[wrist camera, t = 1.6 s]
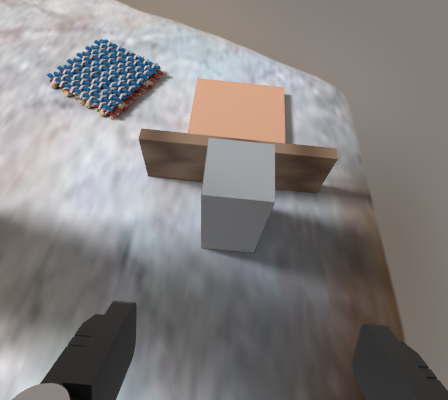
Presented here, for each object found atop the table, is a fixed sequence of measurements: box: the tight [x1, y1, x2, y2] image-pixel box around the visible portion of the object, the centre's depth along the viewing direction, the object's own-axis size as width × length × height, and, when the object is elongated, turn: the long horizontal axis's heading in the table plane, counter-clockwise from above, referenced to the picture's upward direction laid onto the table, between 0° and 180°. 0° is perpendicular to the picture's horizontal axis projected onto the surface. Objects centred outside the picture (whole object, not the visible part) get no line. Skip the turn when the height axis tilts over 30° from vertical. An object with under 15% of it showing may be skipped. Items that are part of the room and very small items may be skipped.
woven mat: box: [47, 39, 164, 120], centre depth 40 cm, size 10×11×2 cm
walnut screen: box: [139, 129, 338, 193], centre depth 31 cm, size 18×1×6 cm, turn 85°
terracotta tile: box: [188, 78, 285, 143], centre depth 38 cm, size 11×11×1 cm
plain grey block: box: [201, 138, 275, 253], centre depth 27 cm, size 5×5×10 cm
